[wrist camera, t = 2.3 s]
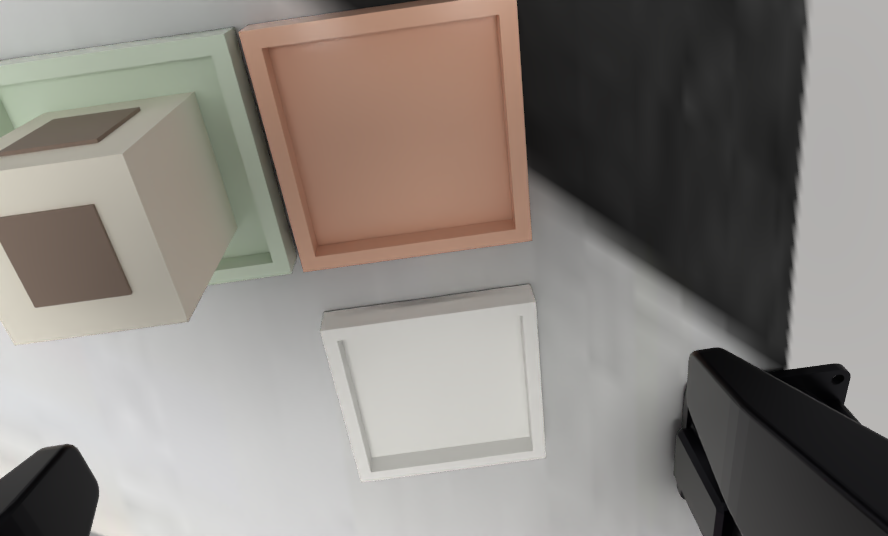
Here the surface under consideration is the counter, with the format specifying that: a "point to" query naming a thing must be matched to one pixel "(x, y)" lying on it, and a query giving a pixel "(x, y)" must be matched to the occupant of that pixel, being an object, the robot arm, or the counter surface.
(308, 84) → the tray terracotta
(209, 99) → the tray sage
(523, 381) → the tray grey
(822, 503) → the robot arm
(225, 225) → the letter block
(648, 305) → the counter surface
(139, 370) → the counter surface
